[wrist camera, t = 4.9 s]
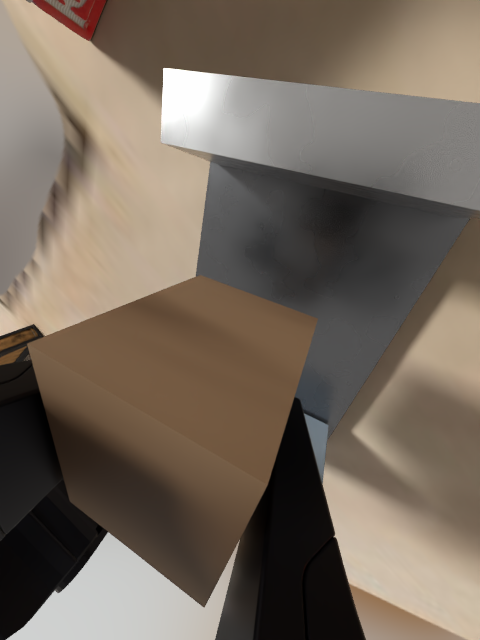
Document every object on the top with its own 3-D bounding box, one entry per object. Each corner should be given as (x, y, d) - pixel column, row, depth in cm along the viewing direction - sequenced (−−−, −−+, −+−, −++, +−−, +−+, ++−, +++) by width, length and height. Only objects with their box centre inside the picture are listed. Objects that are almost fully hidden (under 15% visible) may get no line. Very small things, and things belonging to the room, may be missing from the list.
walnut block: (270, 428, 9) (204, 607, 5) (185, 383, 10) (69, 502, 6) (318, 318, 7) (267, 484, 3) (200, 274, 8) (27, 344, 4)
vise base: (320, 441, 18) (310, 519, 13) (189, 374, 21) (143, 419, 16) (491, 167, 9) (630, 120, 5) (225, 122, 12) (151, 66, 8)
